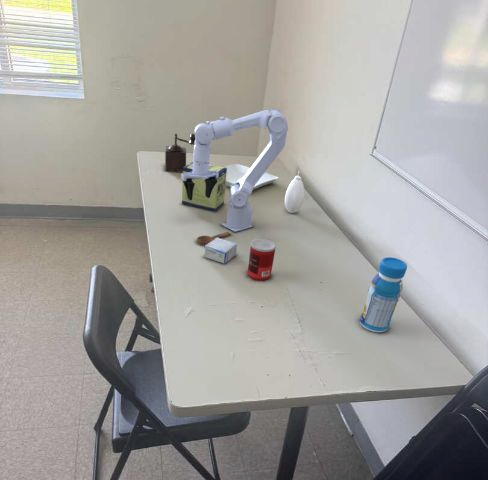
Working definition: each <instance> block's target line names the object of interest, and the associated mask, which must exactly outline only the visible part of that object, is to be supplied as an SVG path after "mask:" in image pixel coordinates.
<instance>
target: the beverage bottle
mask: <svg viewBox="0 0 488 480" xmlns="http://www.w3.org/2000/svg"><path fill="white" fill-rule="evenodd" d="M407 270H408V264H407V263H406V262H405V261H403V260H402V259H399V258H397V257H391V256H387V257H383V258H382V259H381V260H380V263H379V265H378V273H376V274H375V275H374V277H373V278H372V280H371V285H370V286H369V287H368V290H367V297H366V300H365V303H364V307H363V310H362V313H361V314H360V317H359V323H360V325H361V326H362V327H363V328H364V329H365V330H368V331H370V332H373V333H383V332H386V331H387V330H388V329H389V327H390V324H391V321H392V317H393V315H394V313H395V309H396V307H397V304H398V302H399V301H400V299H401V293H402V291H403V287H404V285H403V280H402V279H403V278H404V277H405V275H406V272H407Z"/></svg>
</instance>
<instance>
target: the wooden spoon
mask: <svg viewBox="0 0 488 480" xmlns="http://www.w3.org/2000/svg"><path fill="white" fill-rule="evenodd" d="M231 235H232V233H231V232H229V231H226V232H223V233H220V234H215V235H212V236H210V235H200V236H198V237H197V238H196V244H198V245H199V246H205V245H207V244H208V243H210V242H211V241H213V240H214V239H216V238H220V239H223V238H226V237H229V236H231Z"/></svg>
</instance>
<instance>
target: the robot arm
mask: <svg viewBox="0 0 488 480" xmlns="http://www.w3.org/2000/svg"><path fill="white" fill-rule="evenodd" d="M253 127H260V128H261V129H264V130H268V134H269V142H268V144H266V146H265V148H264V149H263V150H262V152H260V154H259V156H258V157H257V158H256V160H255V161H254V162H253V164H252V165H251V166H250V169H249V170H248V172H247V173H246V174H245V176H244V177H243V178H241V179H239V181H238V182H237V183H235V184H233V185H232V186H231V187H229V196H230V199H229V200H228V202H227V213H226V215H227V216H226V221H225V222H222V223H221V225H222V227H224V228H227V229H229V230H230V231H232V232H234V233H237V232H240V231H243V230H247V229H250V228H252V227H253V225H252V218H253V207H252V205H251V203H249V198H250V196H251V195H252V192H253V187H254V186H255V184H256V183H257V182H258V180H259V179H260V178H261V177H262V175H263V174H264V173H265V172H266V171H267V170H268V169H269V167H271V165H272V163H274V161H275V160H276V158H278V156H279V155H280V153H281V152H282V151H283V150H284V148H285V147H286V142H287V141H286V140H287V136H288V135H287V134H288V131H289V126H288V120H287V118H286V116H285V115H284V114H283V113H282V111H281V110H280V109H278V108H271V109H269V110H268V109H264V110H261V111H258V112H255V113H251V114H248V115H245V116H242V117H239V118H235V119H230V118H229V117H224V116H220V117H219V119H217V120H214V121H210V120H207V121H206V123H204V122H201V123H198V124H197V125H196V126H195V129H194V130H193V134H195V143H194V146H193V155H192V156H193V157H192V162H193V171H192V172H188V173H184V174H183V173H181V174H180V175H181V176H180V180H181V181H182V184H183V183H184V185H185V188H186V192H187V197H188V199H189V200H192V197H193V188H194V185H195V183H193V181H192V180H193V179H205V183H206V190H205V196H206V197H207V198H210V195H211V192H212V190H213V188H214V186H215V185H216V183H217V179H216V178H218V175H219V173H218V172H217V171H209V165H210V161H211V160H210V158H211V142H212V140H213V141H216V140H219V139H223V138H228V137H231V136H232V135H233V134H234V132H236V131H239V130H243V129H247V128H253Z"/></svg>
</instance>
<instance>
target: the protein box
mask: <svg viewBox="0 0 488 480" xmlns="http://www.w3.org/2000/svg"><path fill="white" fill-rule="evenodd" d="M224 167H225V166H218V165H215V164H209V171H217V172H218V173H219V175H218V178H216V179H217V183H216V185H215V186H214V188H213V190H212V192H211V195H210V198H207V197H206V196H205V190H206V183H205V179H193V180H192V181H193V183H195V185H194V188H193V197H192V200H189V199H188V197H187V192H186V188H185V185H184V183H183V182H182V191H181V205H184V206H188V207H193V208H197V209H201V210H205V211H210V212H214V213H216V212H217V211H218V210H219V209H220V208H222V206H224V205H225V197H226V187H227V186H226V174H227V168H224ZM192 171H193V161H191V162H190V163H187V164H186V166H184V167H183V172H182V174H184V173H188V172H192Z"/></svg>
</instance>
